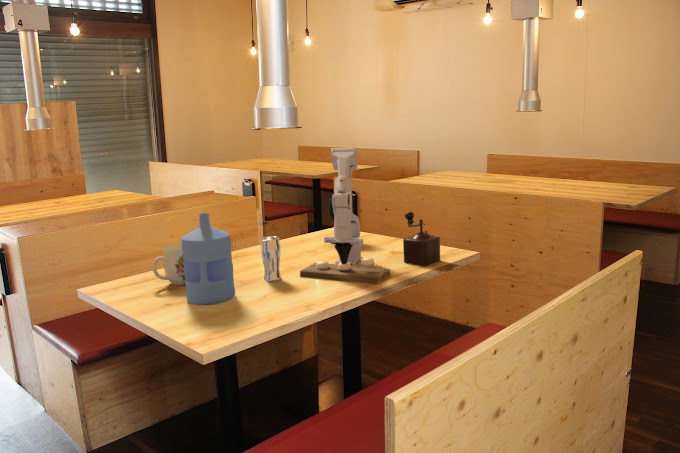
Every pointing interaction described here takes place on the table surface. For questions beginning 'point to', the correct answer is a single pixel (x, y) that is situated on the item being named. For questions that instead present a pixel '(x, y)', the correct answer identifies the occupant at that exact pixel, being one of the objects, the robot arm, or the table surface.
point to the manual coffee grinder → (420, 245)
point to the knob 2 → (344, 266)
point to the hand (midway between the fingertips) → (344, 263)
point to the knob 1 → (322, 265)
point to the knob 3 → (367, 262)
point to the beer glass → (271, 257)
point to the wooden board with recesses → (347, 273)
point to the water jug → (208, 264)
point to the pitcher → (172, 264)
